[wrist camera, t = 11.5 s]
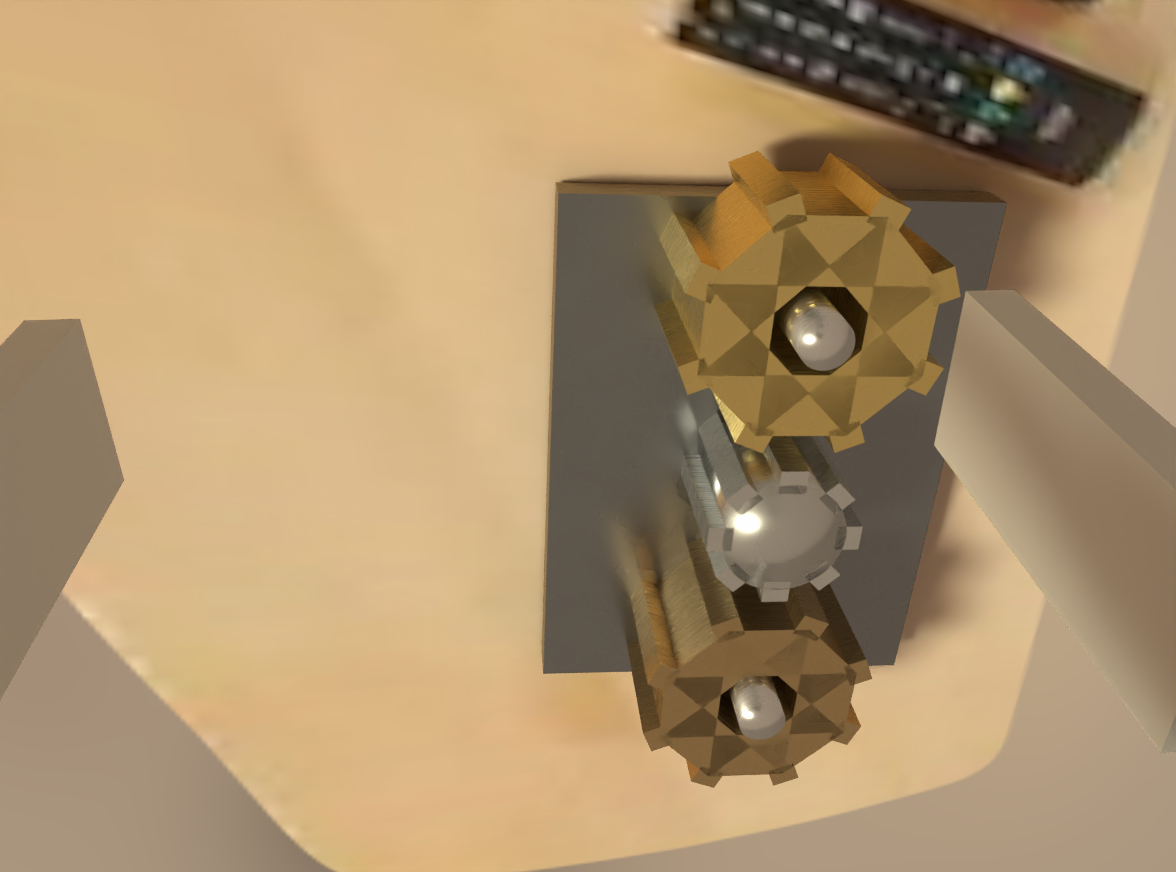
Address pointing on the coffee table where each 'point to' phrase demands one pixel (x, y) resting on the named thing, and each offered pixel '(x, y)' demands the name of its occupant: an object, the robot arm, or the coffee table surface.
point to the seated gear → (740, 670)
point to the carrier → (723, 444)
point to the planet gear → (779, 272)
